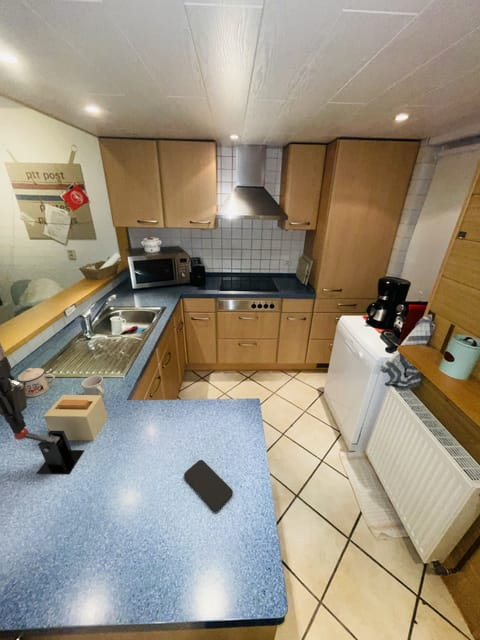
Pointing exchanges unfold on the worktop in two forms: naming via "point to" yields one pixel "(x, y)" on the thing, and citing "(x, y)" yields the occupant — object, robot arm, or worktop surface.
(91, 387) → the cup
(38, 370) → the teacup with lid
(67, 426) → the toaster
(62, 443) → the toaster lever bracket
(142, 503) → the worktop surface
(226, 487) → the phone
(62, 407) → the toast
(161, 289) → the worktop surface
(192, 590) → the worktop surface
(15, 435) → the lever
